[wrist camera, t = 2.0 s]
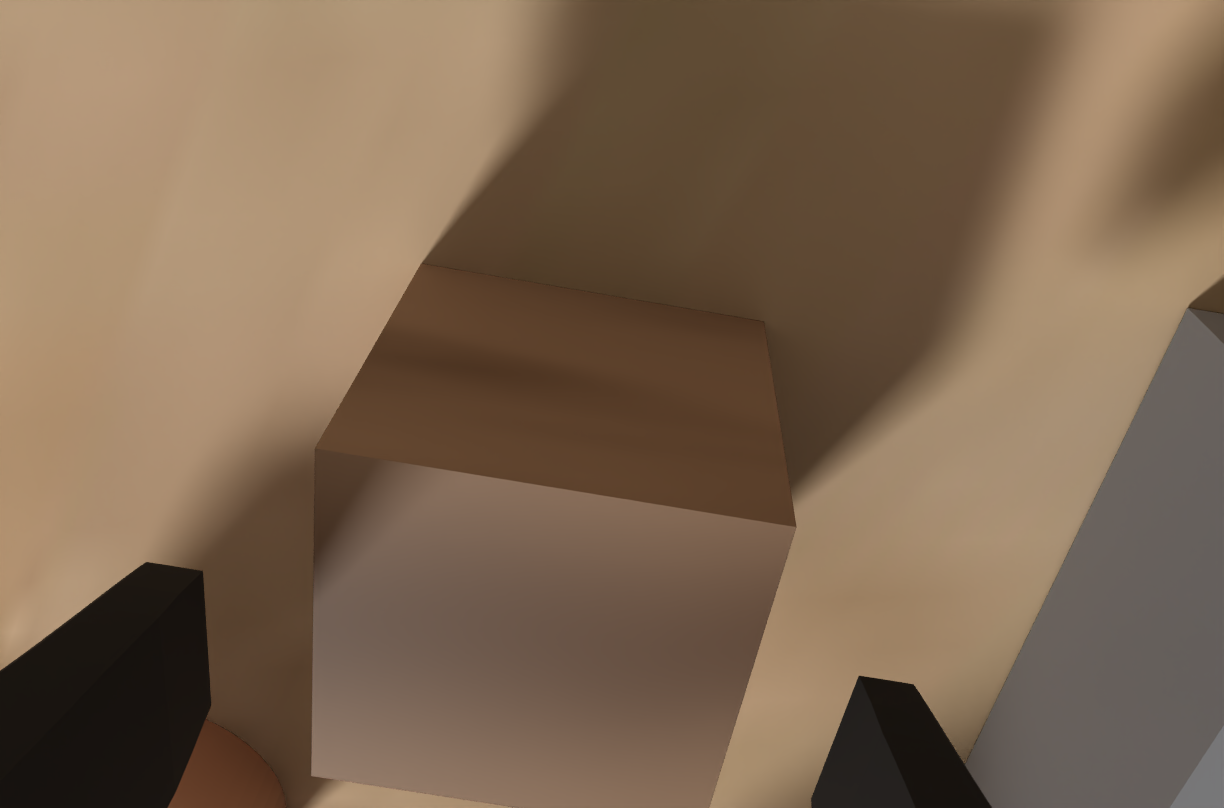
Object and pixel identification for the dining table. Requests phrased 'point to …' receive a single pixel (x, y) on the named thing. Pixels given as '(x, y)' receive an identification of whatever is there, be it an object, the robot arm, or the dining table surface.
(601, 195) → the dining table surface
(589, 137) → the dining table surface
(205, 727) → the terracotta cylinder
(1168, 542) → the tote
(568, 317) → the walnut cube
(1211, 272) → the dining table surface
